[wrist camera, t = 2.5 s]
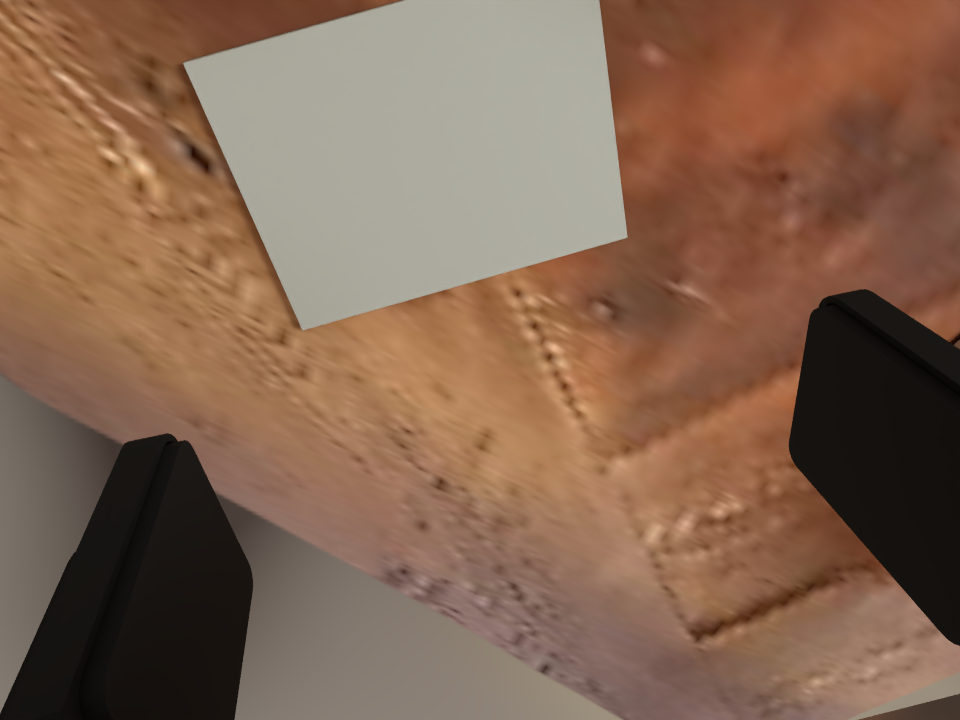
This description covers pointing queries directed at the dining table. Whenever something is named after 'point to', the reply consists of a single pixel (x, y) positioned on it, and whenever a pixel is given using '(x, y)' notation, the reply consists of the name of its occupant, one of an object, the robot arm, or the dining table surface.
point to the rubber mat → (419, 146)
